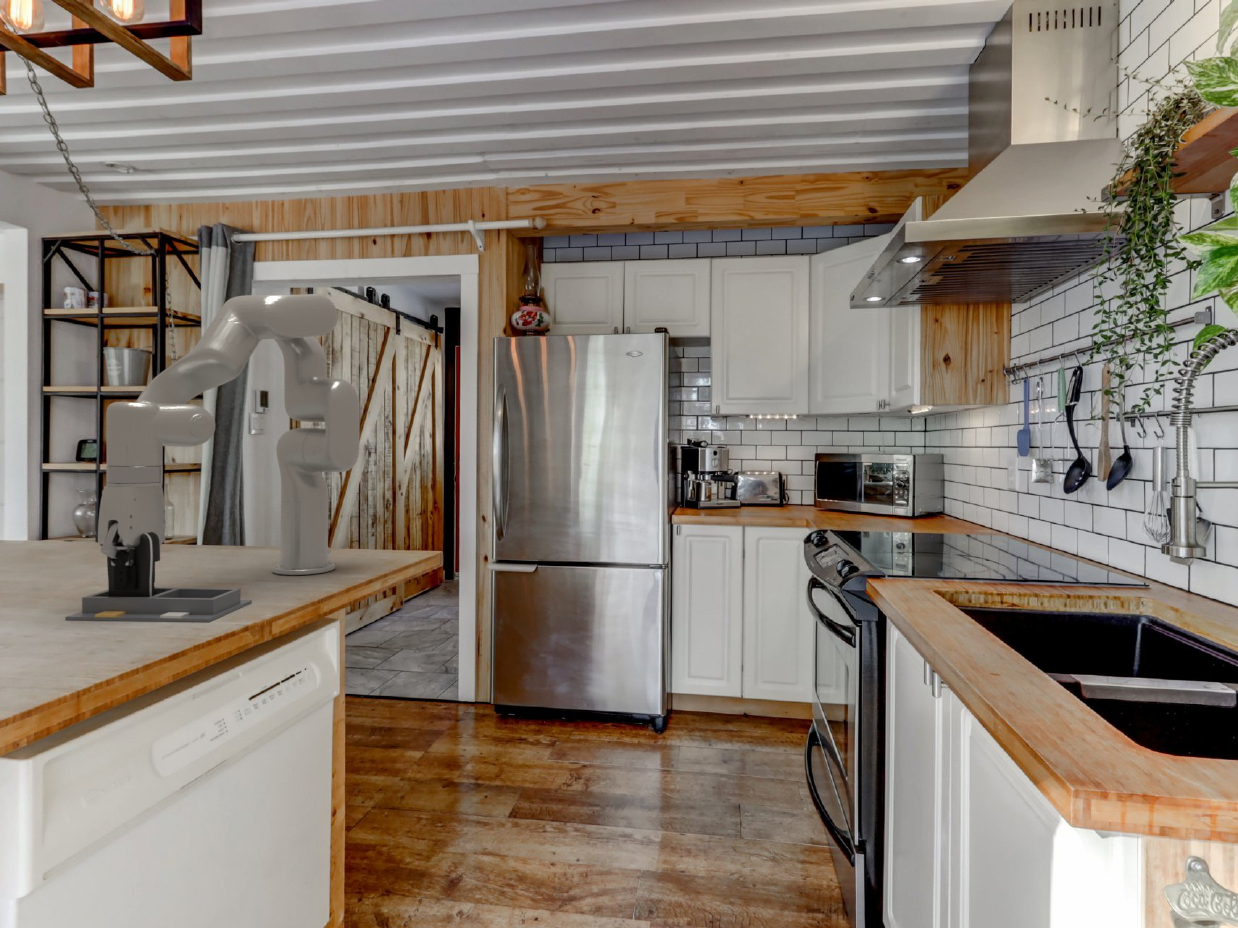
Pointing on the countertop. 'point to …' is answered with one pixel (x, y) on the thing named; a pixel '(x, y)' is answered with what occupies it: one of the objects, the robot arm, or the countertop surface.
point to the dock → (162, 605)
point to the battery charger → (139, 568)
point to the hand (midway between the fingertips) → (134, 585)
